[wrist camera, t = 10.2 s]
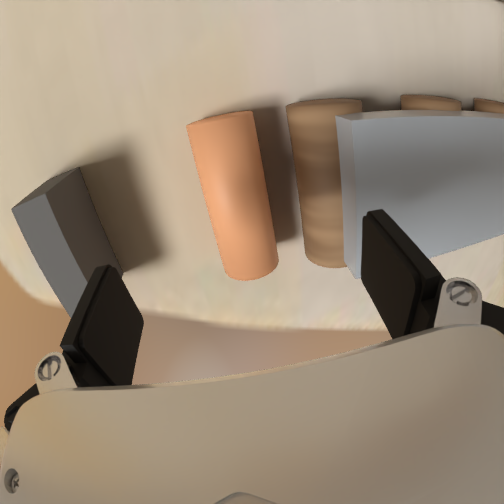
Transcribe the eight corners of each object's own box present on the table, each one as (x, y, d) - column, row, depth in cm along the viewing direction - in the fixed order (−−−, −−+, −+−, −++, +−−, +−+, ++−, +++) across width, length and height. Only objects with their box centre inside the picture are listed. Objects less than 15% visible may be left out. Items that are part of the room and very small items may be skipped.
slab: (523, 115, 14) (543, 123, 12) (512, 213, 19) (528, 225, 17) (333, 114, 14) (351, 120, 12) (342, 258, 19) (355, 279, 17)
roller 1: (176, 127, 16) (203, 127, 13) (230, 111, 18) (266, 110, 15) (215, 264, 22) (243, 288, 19) (257, 242, 23) (290, 261, 20)
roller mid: (388, 94, 17) (425, 102, 13) (435, 95, 17) (473, 104, 13) (391, 219, 22) (419, 247, 19) (432, 211, 22) (462, 235, 19)
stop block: (79, 167, 17) (45, 193, 13) (123, 273, 22) (107, 316, 18) (47, 180, 17) (11, 209, 13) (92, 280, 22) (73, 322, 18)
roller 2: (279, 104, 17) (294, 110, 13) (344, 97, 17) (374, 103, 13) (299, 239, 22) (313, 273, 19) (353, 228, 22) (376, 259, 19)
